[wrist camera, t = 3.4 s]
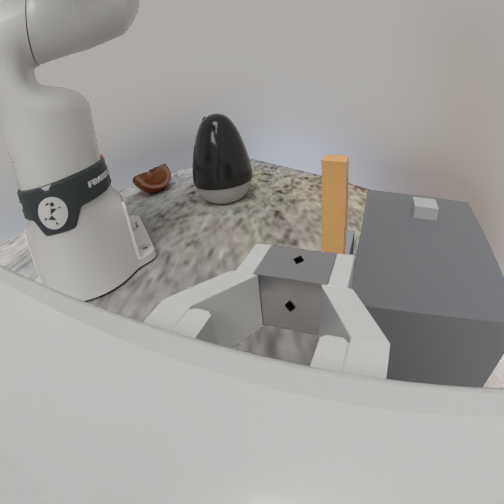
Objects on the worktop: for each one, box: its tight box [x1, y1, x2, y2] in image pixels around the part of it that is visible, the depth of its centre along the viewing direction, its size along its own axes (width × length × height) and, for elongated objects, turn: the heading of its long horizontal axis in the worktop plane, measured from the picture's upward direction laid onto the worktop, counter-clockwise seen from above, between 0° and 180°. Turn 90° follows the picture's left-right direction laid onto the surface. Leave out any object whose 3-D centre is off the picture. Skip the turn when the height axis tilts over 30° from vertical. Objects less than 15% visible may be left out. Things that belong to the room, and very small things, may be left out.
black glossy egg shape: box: [193, 114, 252, 204], centre depth 52 cm, size 10×10×15 cm
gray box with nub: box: [352, 190, 504, 388], centre depth 23 cm, size 18×10×11 cm, turn 158°
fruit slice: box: [133, 164, 171, 193], centre depth 63 cm, size 8×7×5 cm
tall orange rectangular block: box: [322, 154, 354, 255], centre depth 19 cm, size 8×1×16 cm, turn 158°
